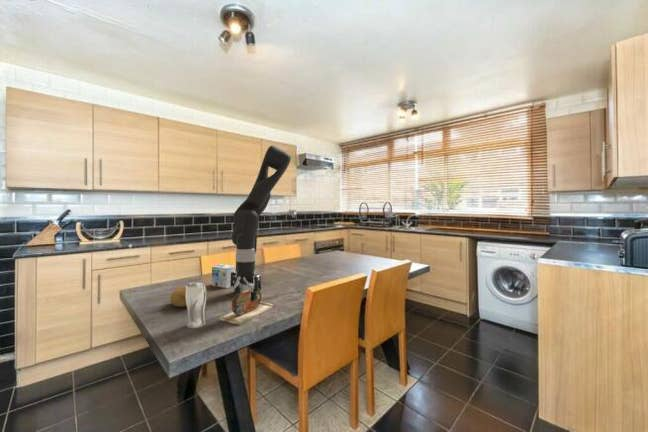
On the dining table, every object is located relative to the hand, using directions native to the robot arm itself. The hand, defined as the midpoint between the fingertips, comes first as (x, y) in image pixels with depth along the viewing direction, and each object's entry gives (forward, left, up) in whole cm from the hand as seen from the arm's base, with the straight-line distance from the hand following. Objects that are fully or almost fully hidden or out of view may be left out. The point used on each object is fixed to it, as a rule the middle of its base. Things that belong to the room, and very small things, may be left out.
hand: (245, 298), depth 111 cm
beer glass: (-8, -16, -6) cm, 19 cm away
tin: (0, +1, -5) cm, 5 cm away
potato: (-30, -5, -6) cm, 31 cm away
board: (+1, +1, -6) cm, 6 cm away
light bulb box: (-37, +25, -6) cm, 45 cm away
